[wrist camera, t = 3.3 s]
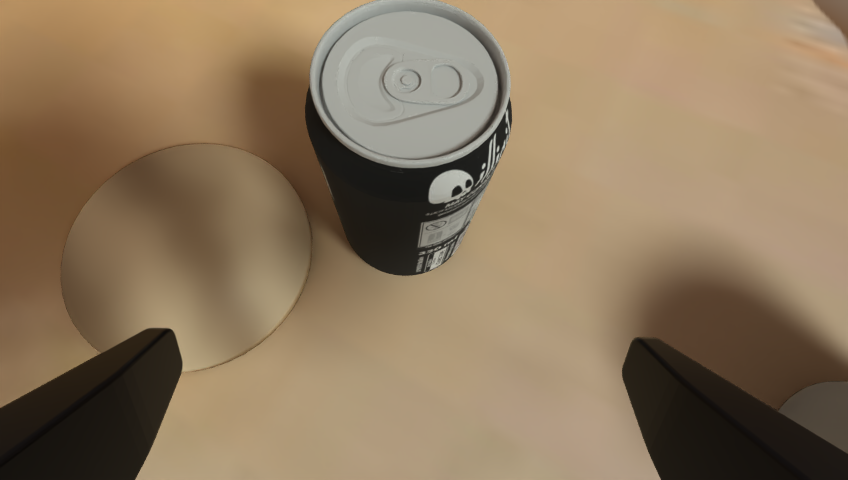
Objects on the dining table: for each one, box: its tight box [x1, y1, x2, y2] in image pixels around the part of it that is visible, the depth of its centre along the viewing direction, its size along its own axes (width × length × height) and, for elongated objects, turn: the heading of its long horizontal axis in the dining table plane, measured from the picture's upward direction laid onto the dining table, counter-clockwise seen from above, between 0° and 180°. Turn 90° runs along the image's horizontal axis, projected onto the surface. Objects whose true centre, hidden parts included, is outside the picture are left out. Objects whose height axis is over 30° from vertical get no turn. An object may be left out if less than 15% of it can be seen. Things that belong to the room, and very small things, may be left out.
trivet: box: [61, 144, 312, 373], centre depth 22 cm, size 12×12×1 cm
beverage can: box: [305, 0, 512, 276], centre depth 18 cm, size 7×7×12 cm
